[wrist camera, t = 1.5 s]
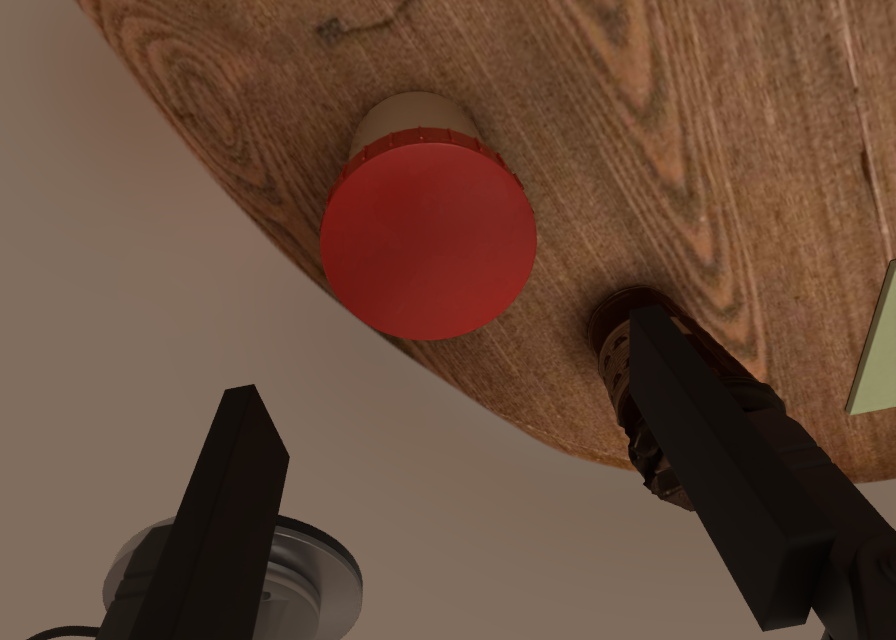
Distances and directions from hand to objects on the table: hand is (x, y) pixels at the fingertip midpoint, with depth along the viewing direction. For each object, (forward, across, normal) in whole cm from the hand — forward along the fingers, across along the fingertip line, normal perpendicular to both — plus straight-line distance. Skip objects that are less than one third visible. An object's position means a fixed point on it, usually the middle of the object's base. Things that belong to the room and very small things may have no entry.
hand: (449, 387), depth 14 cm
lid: (+9, 0, 0) cm, 9 cm away
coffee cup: (+20, +12, -14) cm, 27 cm away
